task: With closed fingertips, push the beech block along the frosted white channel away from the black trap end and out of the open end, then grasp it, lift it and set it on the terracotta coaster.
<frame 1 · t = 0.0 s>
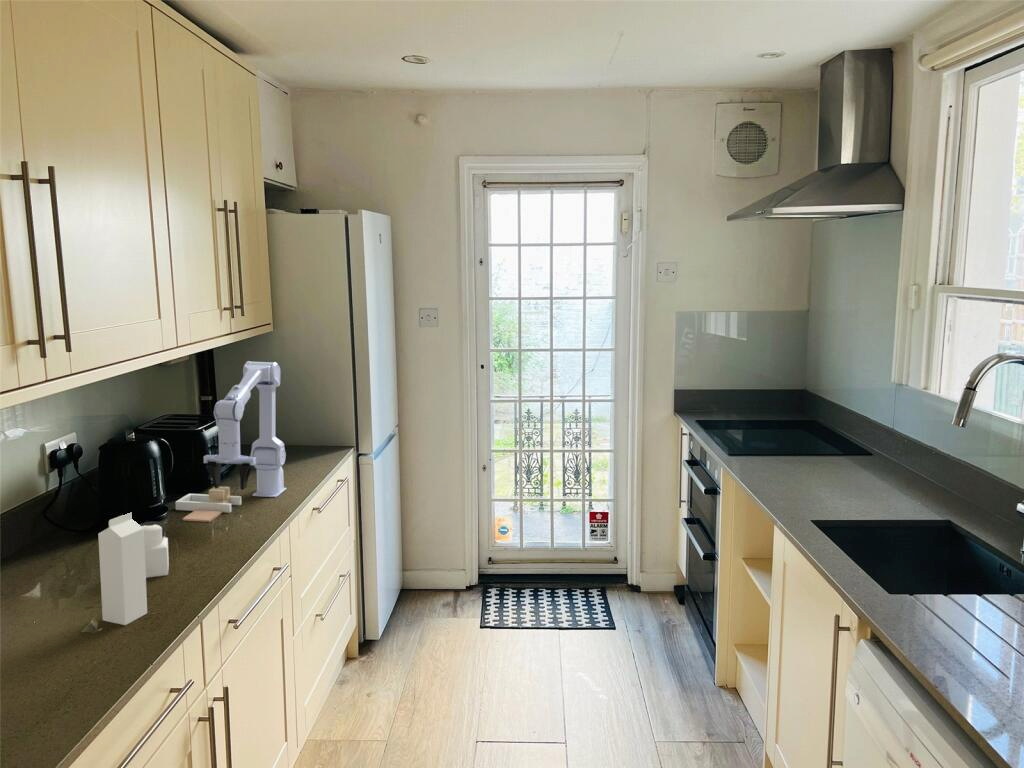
hand: (230, 488, 215), 10 cm above the worktop, fingers open, 7 cm apart
coaster: (202, 516, 220), on the worktop
medicine bottle: (152, 572, 180), on the worktop
channel: (211, 506, 229), on the worktop
beech block: (219, 507, 229), resting in channel
milk: (125, 617, 157), on the worktop
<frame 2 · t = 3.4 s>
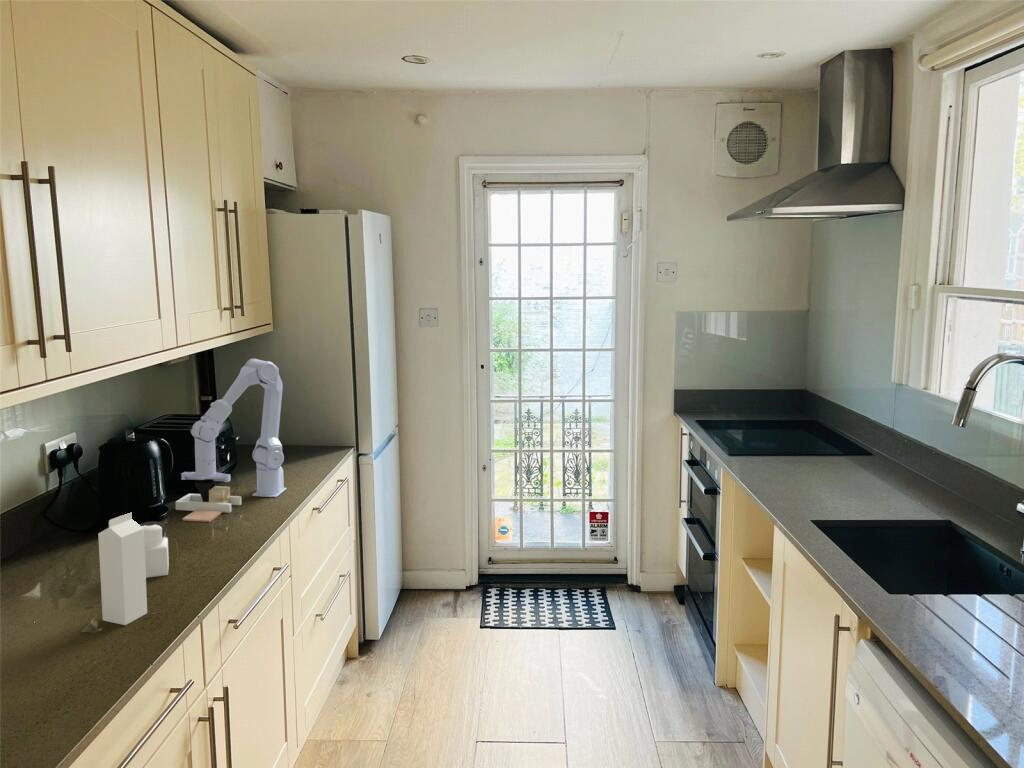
hand: (206, 503, 229), 1 cm above the worktop, fingers closed
beech block: (219, 507, 229), resting in channel, touching gripper
everything else where it was.
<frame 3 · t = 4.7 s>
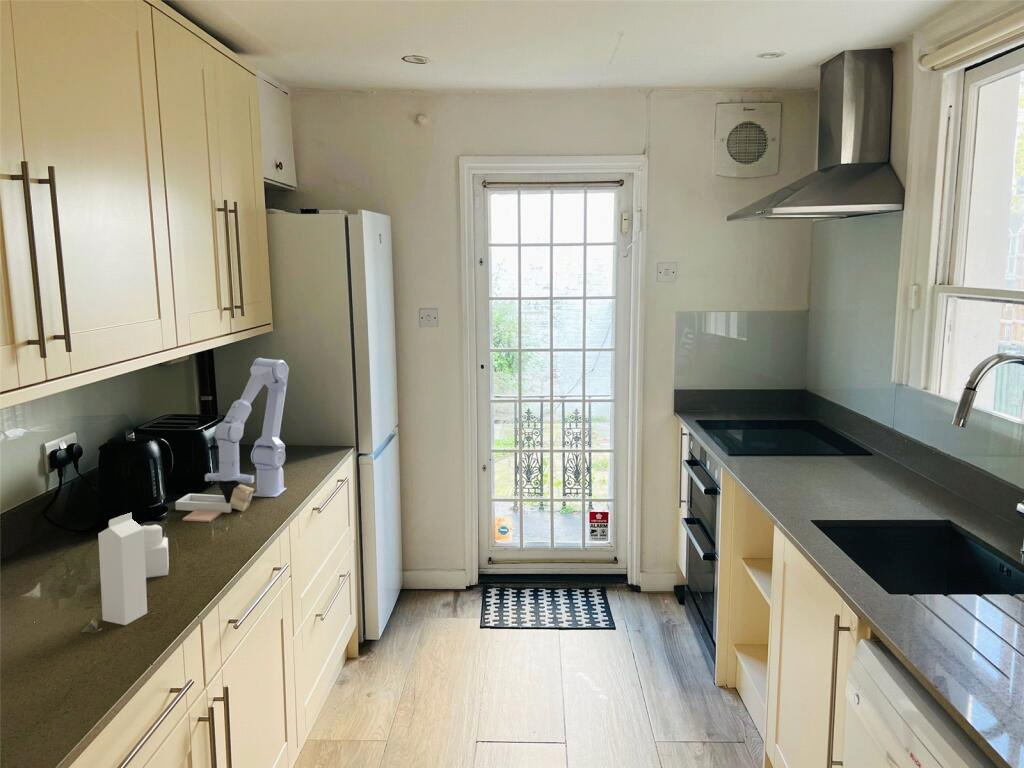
hand: (230, 504, 228), 1 cm above the worktop, fingers closed
beech block: (239, 506, 228), point 1 cm above the worktop, tilted 16°, touching gripper
everything else where it was.
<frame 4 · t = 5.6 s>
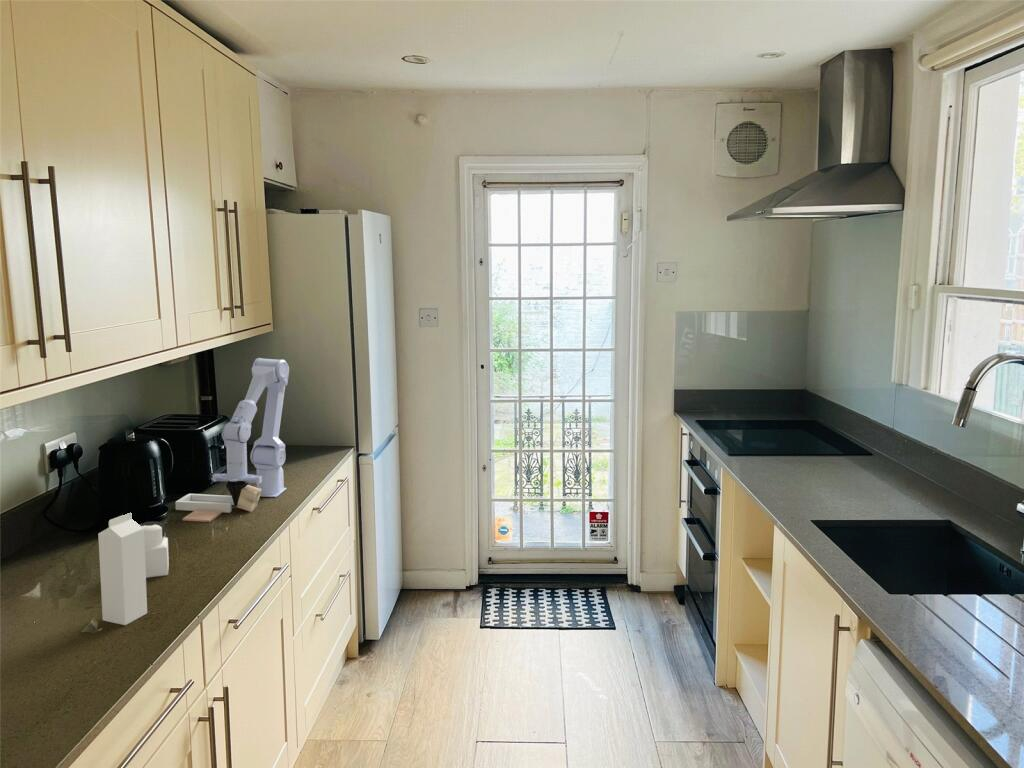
hand: (237, 504, 228), 1 cm above the worktop, fingers closed
beech block: (246, 507, 228), point 1 cm above the worktop, tilted 16°, touching gripper
everything else where it was.
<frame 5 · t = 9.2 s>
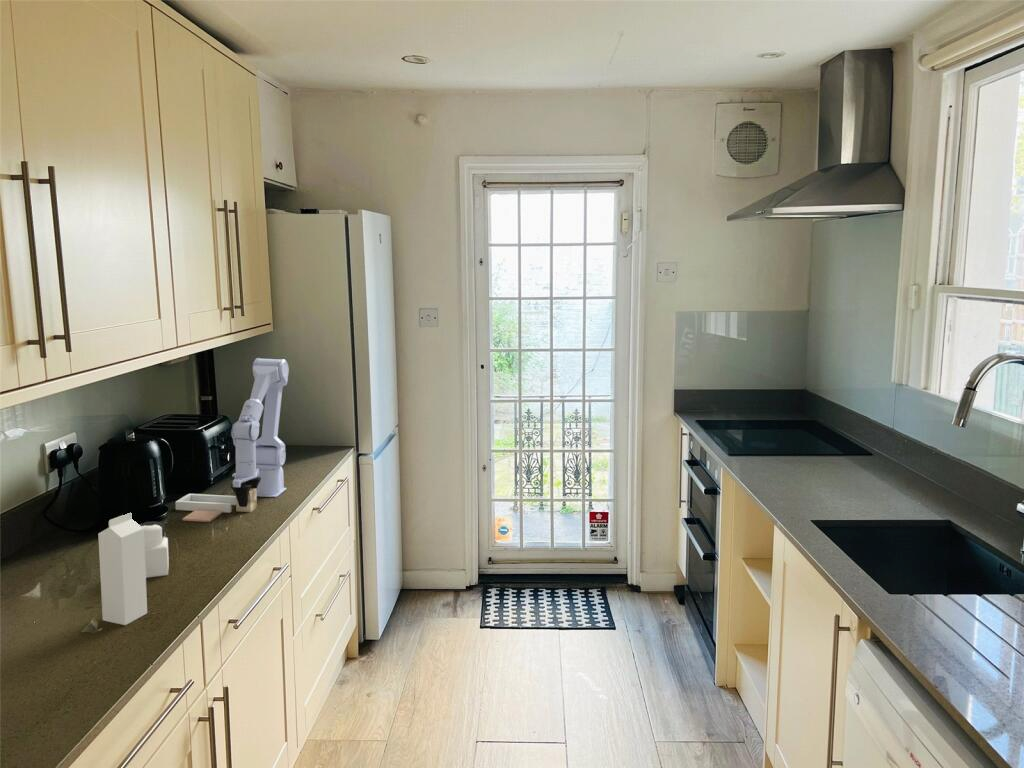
hand: (246, 503, 228), 2 cm above the worktop, fingers open, 5 cm apart
beech block: (246, 509, 228), on the worktop, touching gripper
everything else where it was.
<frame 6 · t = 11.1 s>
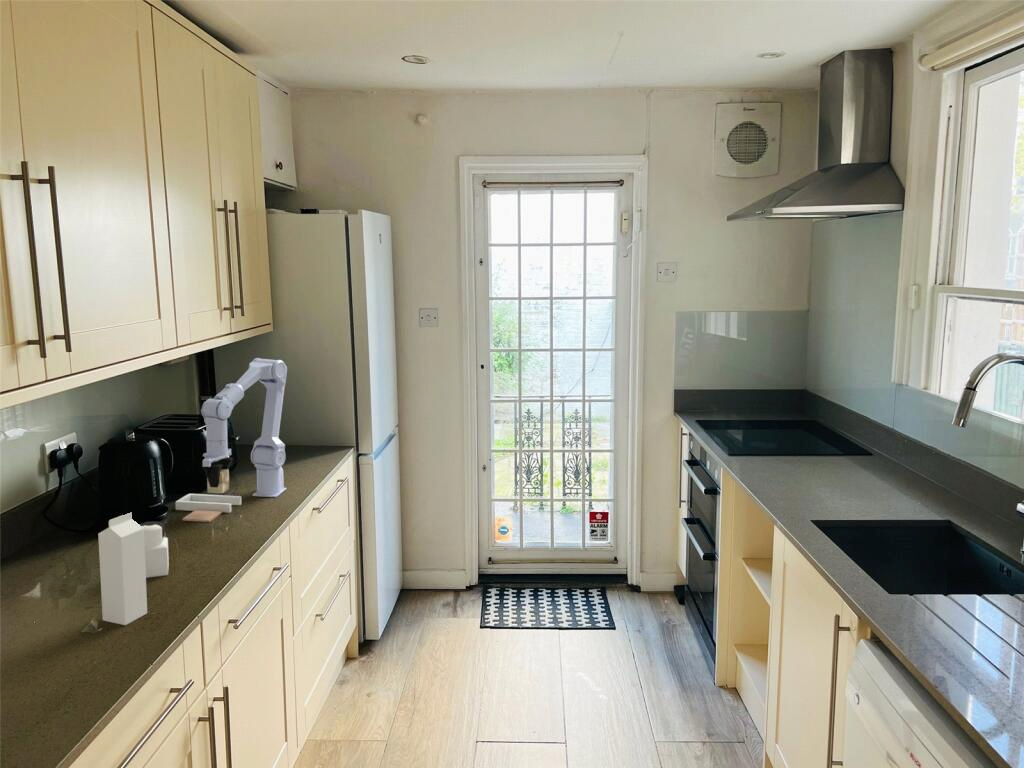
hand: (218, 484, 222), 9 cm above the worktop, fingers closed on beech block, 4 cm apart
beech block: (218, 490, 222), point 7 cm above the worktop, touching gripper
everything else where it was.
when the fingers open (4 cm above the worktop, at t = 12.9 s): beech block drops 1 cm, resting on coaster.
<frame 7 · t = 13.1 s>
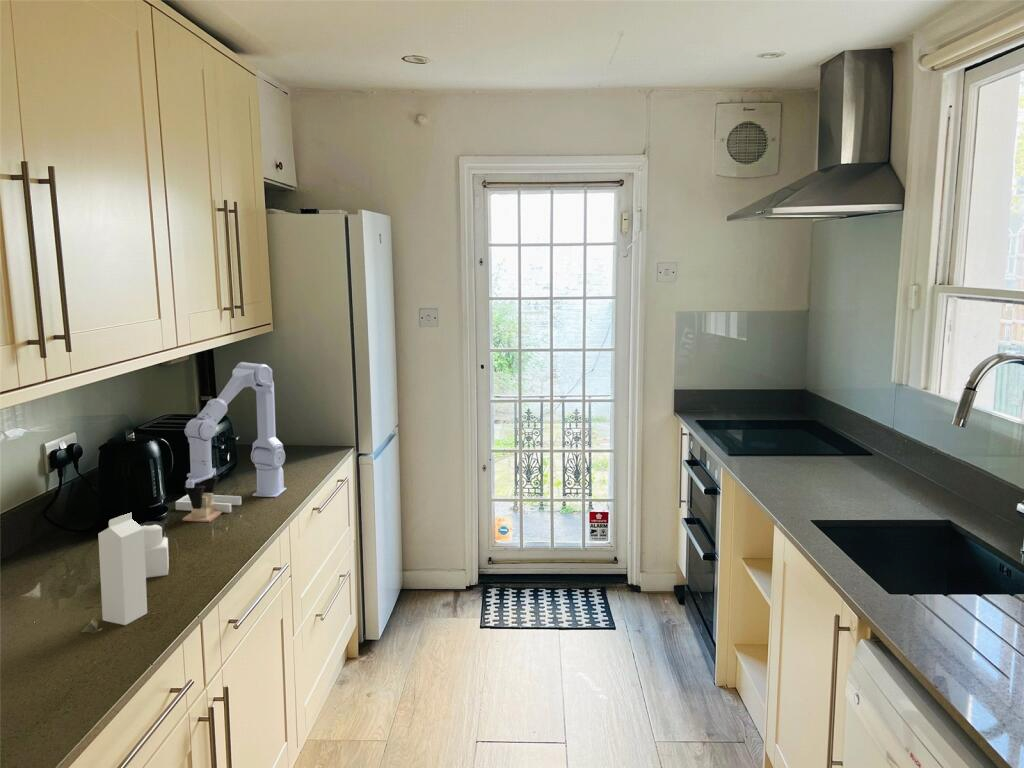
hand: (202, 504, 219), 4 cm above the worktop, fingers open, 6 cm apart
beech block: (202, 514, 220), point 1 cm above the worktop, touching coaster
everything else where it was.
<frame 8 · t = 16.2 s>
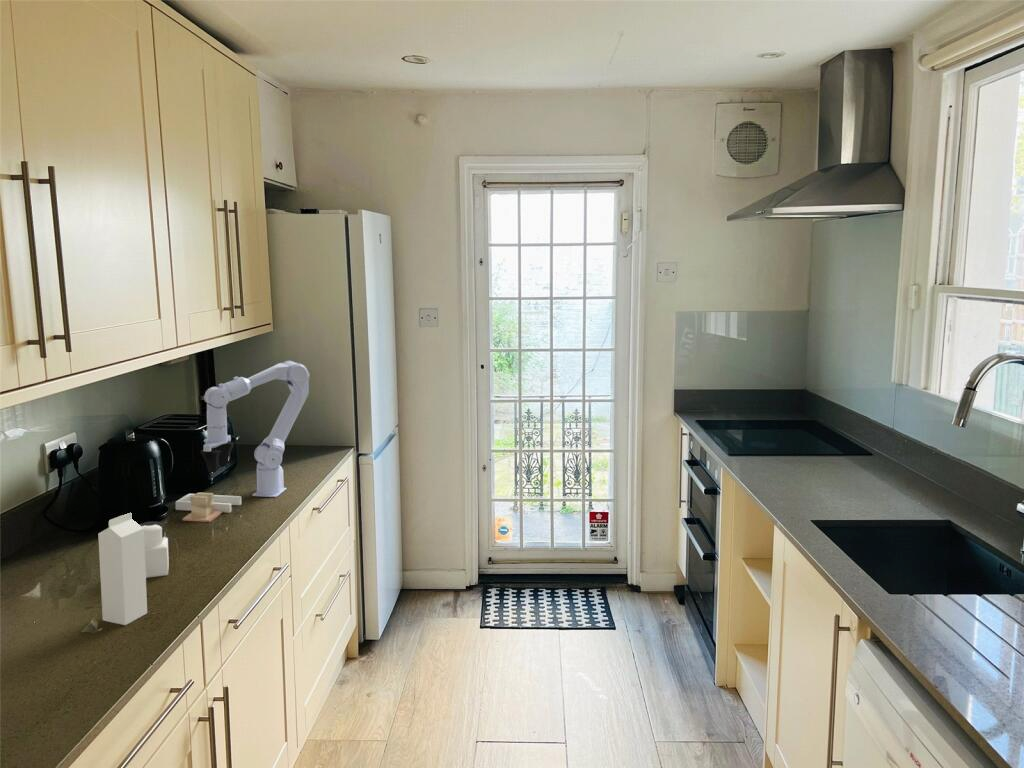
hand: (218, 468, 233), 10 cm above the worktop, fingers open, 7 cm apart
nothing on the worktop moved.
at the end: beech block inside the target area on the coaster (0.0 cm from its centre), point 0.6 cm above the coaster's base; beech block tilted 0°; the gripper is holding nothing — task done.
